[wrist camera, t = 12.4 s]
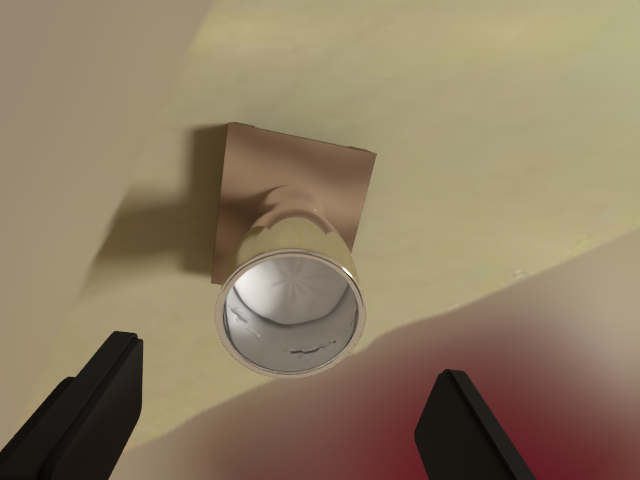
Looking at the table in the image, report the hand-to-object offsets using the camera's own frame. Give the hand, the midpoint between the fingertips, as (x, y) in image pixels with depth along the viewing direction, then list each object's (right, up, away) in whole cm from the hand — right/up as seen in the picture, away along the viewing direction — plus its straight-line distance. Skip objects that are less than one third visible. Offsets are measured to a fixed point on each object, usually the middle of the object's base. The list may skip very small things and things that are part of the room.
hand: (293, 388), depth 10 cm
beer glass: (-2, +6, +18) cm, 19 cm away
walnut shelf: (-2, +8, +22) cm, 23 cm away
